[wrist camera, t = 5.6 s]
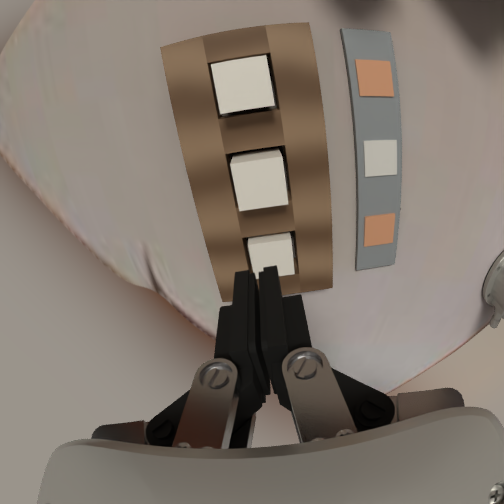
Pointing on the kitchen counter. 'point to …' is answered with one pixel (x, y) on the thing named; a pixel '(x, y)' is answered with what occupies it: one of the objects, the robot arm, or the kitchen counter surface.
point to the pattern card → (375, 143)
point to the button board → (254, 137)
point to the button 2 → (272, 253)
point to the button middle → (259, 179)
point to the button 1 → (243, 84)
